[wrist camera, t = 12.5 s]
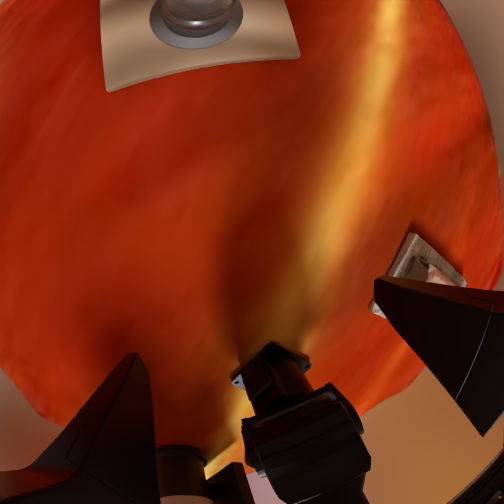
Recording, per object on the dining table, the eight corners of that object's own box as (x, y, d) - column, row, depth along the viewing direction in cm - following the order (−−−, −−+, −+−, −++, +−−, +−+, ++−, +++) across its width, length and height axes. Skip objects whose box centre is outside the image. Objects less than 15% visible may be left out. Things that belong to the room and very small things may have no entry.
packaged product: (482, 289, 28) (450, 348, 30) (460, 277, 33) (430, 332, 34) (437, 241, 22) (390, 329, 24) (406, 228, 26) (364, 307, 28)
